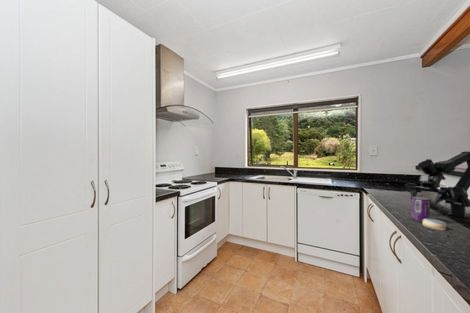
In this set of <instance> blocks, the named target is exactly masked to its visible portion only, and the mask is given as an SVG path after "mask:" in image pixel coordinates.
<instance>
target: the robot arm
mask: <svg viewBox="0 0 470 313" xmlns="http://www.w3.org/2000/svg"><path fill="white" fill-rule="evenodd" d="M464 163H466V165H467V167H466V169H465V170H464V172H463V174H462V175H461V176H460V178H459V179H458V181H457V182H456V184H455V185H454V186H448V187H447V186H446V187H445V186H441V185H440V184H441V182H442V181H443V180H446V177H445V175H444V174H452V172H454V171H455V170H456V167H458V166H459V165H463V164H464ZM417 167H418V168H419V169H420V171H422V173H423V174H424V175H419V178H418V182H420V185H421V186H417V184H416V183H414V182H413V183H411V182H407V183H406V184H405V188H406V190H407V191H408V193H410V201H412V199H413V197H417V195H418V192H419V191H422V192H426V193H432V194H437V195H436V197H435V198H434V200H433V203H432V204H433V206H435V205H437V204H439V203H441V202H444V201H445V204H450V205H449V213H448V212H447V215H448V216H449V215H450V216H453V217H458V218H467V217H469V215H468V214H466V208H470V200H469V198H468V197H469V194H468V190H469V189H470V151H468V150H467V151H461V152H460V153H459V154H457V155H455V156H453V157H451V158H449V159H447V160H441V161H437V162H433V160H432V159H428V158H426V159H425V160H423V161H421V162H419V163H417Z"/></svg>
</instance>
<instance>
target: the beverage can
mask: <svg viewBox="0 0 470 313" xmlns="http://www.w3.org/2000/svg"><path fill="white" fill-rule="evenodd" d="M410 209H411V212H410V213H411V214H410V216H411V219H412V220H413V221H416V222H419V223H423V219H426V218H428V219H431V217H430V216H431V202H430V199H429V198H427V197H423V196H416V197H413V199H412V200H411V206H410Z"/></svg>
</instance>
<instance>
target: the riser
mask: <svg viewBox="0 0 470 313" xmlns="http://www.w3.org/2000/svg"><path fill="white" fill-rule="evenodd" d="M422 226H423V227H425V228H428V229H432V230H437V231H446V230H447V222H444V221H443V220H440V219H436V218H430V219H428V218H426V219H423V222H422Z"/></svg>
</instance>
